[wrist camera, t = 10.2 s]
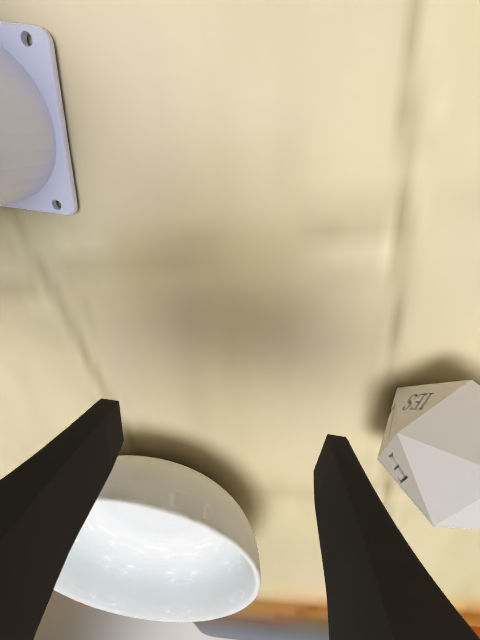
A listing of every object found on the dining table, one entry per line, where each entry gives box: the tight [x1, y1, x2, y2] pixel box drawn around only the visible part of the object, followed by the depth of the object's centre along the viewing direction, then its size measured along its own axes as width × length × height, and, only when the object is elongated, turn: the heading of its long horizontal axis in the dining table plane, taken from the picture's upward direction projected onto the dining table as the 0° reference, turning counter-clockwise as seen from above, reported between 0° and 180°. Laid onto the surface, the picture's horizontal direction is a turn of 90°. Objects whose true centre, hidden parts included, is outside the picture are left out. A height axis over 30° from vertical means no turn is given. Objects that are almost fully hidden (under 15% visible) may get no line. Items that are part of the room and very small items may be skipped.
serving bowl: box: [53, 455, 261, 622], centre depth 29 cm, size 21×21×7 cm
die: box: [378, 380, 480, 529], centre depth 19 cm, size 8×9×10 cm
